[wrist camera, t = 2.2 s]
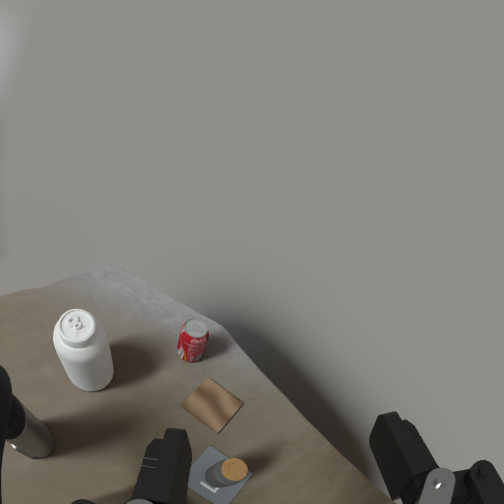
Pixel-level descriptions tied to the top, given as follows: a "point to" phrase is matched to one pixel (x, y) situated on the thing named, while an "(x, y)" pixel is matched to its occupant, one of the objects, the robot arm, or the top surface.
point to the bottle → (226, 472)
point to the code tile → (200, 485)
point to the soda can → (192, 339)
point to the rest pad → (212, 405)
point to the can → (84, 349)
